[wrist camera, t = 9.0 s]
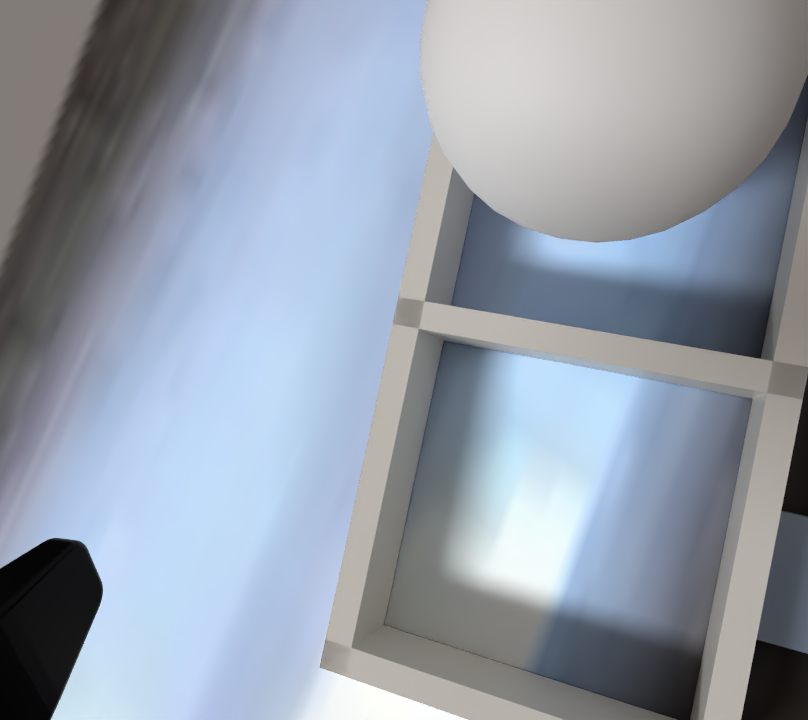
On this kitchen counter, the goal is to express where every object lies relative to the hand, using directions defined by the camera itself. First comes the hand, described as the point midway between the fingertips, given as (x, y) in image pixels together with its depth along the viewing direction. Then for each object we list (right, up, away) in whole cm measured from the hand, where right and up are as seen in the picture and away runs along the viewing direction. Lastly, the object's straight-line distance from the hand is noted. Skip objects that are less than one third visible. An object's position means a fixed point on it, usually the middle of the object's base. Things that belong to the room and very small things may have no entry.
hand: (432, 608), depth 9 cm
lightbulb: (+5, +7, +12) cm, 15 cm away
